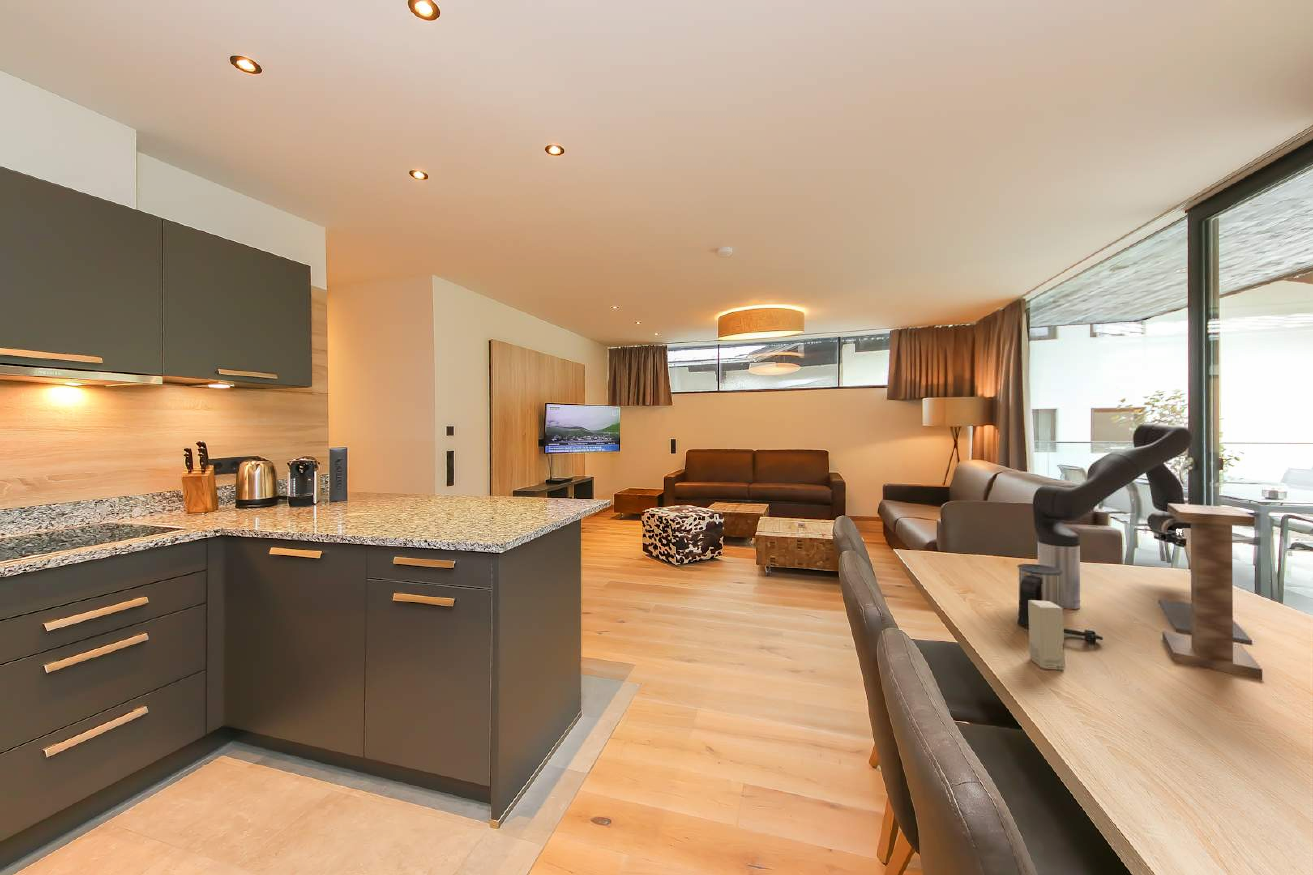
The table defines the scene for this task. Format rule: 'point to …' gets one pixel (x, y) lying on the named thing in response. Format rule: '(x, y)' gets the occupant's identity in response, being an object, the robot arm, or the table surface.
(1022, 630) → the table surface
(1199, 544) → the walnut pedestal
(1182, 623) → the charcoal mat
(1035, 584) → the milk frother
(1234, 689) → the table surface
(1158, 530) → the robot arm
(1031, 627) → the box
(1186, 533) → the birch bar
